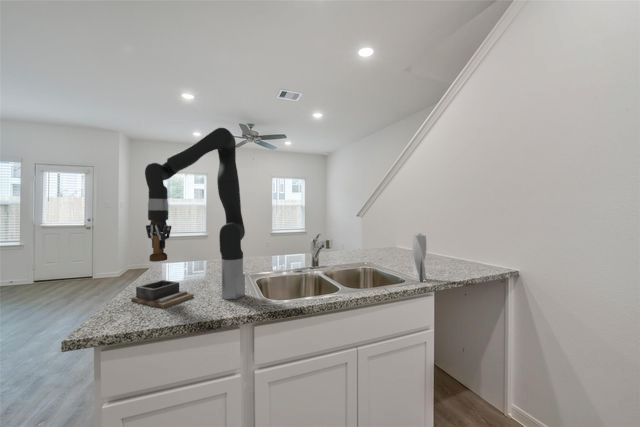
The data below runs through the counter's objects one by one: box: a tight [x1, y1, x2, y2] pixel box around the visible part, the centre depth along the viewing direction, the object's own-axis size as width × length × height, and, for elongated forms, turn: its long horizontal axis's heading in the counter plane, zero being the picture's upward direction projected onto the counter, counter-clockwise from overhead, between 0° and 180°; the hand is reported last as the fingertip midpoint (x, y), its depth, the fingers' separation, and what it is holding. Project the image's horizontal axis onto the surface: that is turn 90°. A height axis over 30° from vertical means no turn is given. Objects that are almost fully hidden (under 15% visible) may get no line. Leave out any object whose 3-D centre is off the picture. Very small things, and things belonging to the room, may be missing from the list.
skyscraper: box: [411, 230, 427, 283], centre depth 143 cm, size 8×8×28 cm
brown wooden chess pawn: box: [149, 221, 168, 263], centre depth 111 cm, size 7×6×18 cm
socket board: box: [130, 279, 194, 309], centre depth 110 cm, size 20×14×6 cm
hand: (158, 248), depth 111 cm, fingers closed on brown wooden chess pawn, 4 cm apart
